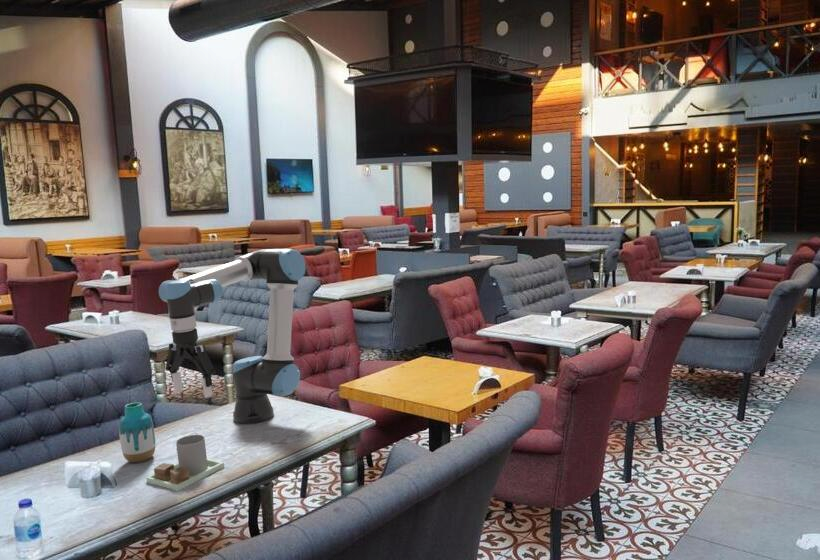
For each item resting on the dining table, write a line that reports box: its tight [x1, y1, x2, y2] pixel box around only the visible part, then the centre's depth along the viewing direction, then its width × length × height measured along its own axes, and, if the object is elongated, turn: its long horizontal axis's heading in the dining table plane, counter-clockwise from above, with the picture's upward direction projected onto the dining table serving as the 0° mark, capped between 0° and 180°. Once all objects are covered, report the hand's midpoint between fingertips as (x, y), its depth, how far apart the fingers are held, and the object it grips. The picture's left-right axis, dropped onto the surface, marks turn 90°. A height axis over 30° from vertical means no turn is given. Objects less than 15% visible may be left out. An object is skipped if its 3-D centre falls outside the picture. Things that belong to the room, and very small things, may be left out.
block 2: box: [170, 466, 189, 485], centre depth 200 cm, size 4×4×4 cm
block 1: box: [153, 462, 174, 482], centre depth 203 cm, size 4×4×4 cm
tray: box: [145, 458, 225, 492], centre depth 206 cm, size 18×14×2 cm
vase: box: [118, 401, 156, 463], centre depth 220 cm, size 11×11×19 cm
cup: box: [175, 434, 208, 476], centre depth 208 cm, size 8×8×10 cm
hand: (193, 394), depth 213 cm, fingers open, 13 cm apart
